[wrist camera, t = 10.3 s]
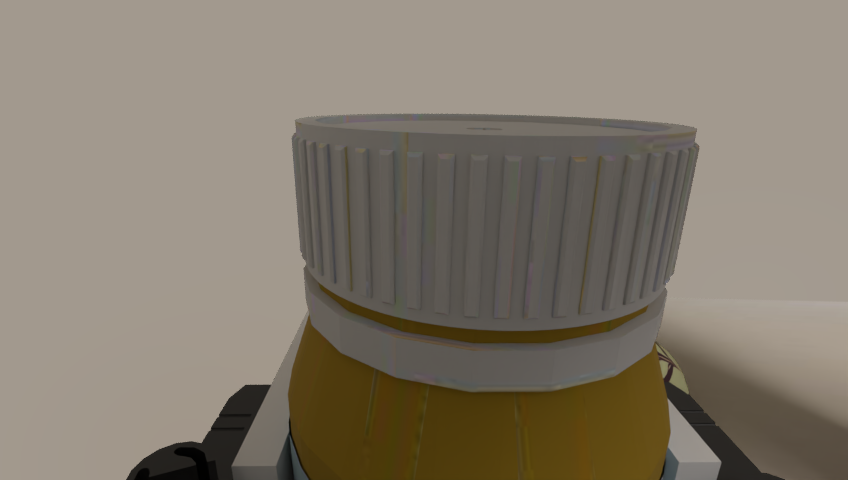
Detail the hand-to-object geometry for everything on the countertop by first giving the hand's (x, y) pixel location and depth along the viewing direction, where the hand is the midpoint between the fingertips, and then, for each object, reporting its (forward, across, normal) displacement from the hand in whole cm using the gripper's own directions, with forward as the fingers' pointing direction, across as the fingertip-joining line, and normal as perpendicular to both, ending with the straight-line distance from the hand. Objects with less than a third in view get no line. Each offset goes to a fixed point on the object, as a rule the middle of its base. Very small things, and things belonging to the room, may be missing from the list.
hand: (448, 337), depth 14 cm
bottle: (-5, 0, -8) cm, 10 cm away
